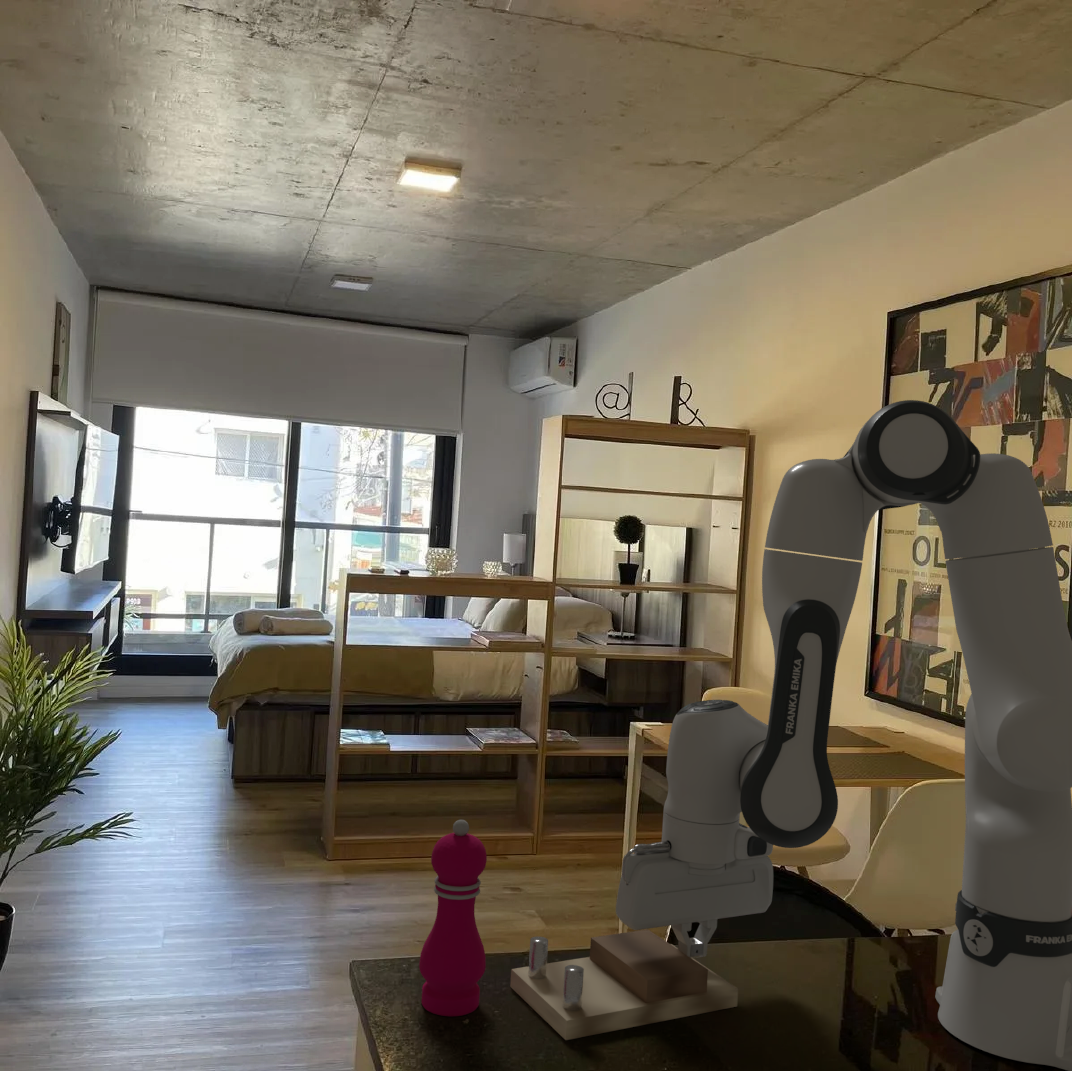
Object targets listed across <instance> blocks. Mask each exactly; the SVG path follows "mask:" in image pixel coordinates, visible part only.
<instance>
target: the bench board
mask: <svg viewBox="0 0 1072 1071" xmlns="http://www.w3.org/2000/svg"><path fill="white" fill-rule="evenodd" d="M670 944H671V945H672V946H674V947H675V948H677V949H678V946H677V947H676V945H674V944H672V943H670ZM548 947H549V939H548V938H547V937H544V936H533V937H531V938H530V941H529V955H528V957H529V958H528V966H523V967H517V968H511V970H510V986H509V987H510V988H511V990H513V991H514V992H515V993H516V994H517V995H518V996H520V998H521V999H522V1000H524V1002H525V1003H526V1004H528V1005H529V1007H530V1008H532V1009H533V1010H534V1011H535V1012H536V1013H537V1014H538V1015H539V1016H540V1017H541V1018H542V1019H543V1020H544V1021H545V1022H546V1023H548V1025H549V1026H550V1027H552V1029H553V1030H554V1031H555V1032H556V1033H558V1034H559V1035H560V1037H562V1038H563V1039H564V1040H565V1041H569V1040H574V1039H579V1038H584V1037H588V1036H589V1037H591V1036H593V1035H594V1036H595V1035H599V1034H603V1033H604V1034H605V1033H610V1032H614V1031H619V1030H624V1029H630V1028H633V1027H634V1028H635V1027H640V1026H644V1025H650V1024H654V1023H660V1022H665V1021H670V1020H674V1019H675V1020H676V1019H680V1018H685V1017H689V1016H696V1015H700V1014H705V1013H706V1014H707V1013H711V1012H717V1011H721V1010H725V1009H730V1008H734V1007H738V999H739V998H738V997H739V988H738V987H737V986H735V985H733V984H732V983H731V982H729V981H727V980H726V979H724V978H723V977H722V976H720V975H719V974H718V973H715V972H714V971H712V970H711V969H709V968H708V967H707V966H705V964H703V963H700V962H699V961H698V960H696V958H691V959H693V960H694V961H696V962H697V963H699V964H700V965H702V966H703V967H705V968H706V969H708V978H707V992H704V993H699V994H694V995H688V996H683V997H678V998H672V999H667V1000H661V1001H656V1002H651V1003H645V1002H644V1001H642V1000H641V999H640V998H639V997H637V996H636V995H635V994H634V993H632V992H631V991H630V990H629V989H627V988H626V987H625V986H623V985H622V984H621V983H620V982H618V981H617V980H616V979H615V978H613V977H612V976H611V975H609V974H608V973H607V972H606V971H604V970H603V969H602V968H601V967H599V966H598V965H597V964H596V963H594V962H593V961H592V960H590V956H587V957H580V958H573V959H567V960H562V961H561V960H560V961H554V962H550V963H549V962H548V952H549V951H548V949H549V948H548Z"/></svg>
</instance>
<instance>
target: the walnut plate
mask: <svg viewBox="0 0 1072 1071" xmlns="http://www.w3.org/2000/svg"><path fill="white" fill-rule="evenodd" d="M671 944H672V943H669V942H668V941H666V940H664V939H663V938H661V936H659V935H657V934H656V933H654V932H652V931H651V930H649V929H642V930H633V931H627V932H621V933H620V932H619V933H613V934H607V935H599V936H593V937H590V944H589V945H590V947H589V957H590V960H592V961H593V962H594V963H596V964H597V965H598V966H599V967H601V968H602V969H603V970H604V971H606V972H607V973H608V974H609V975H611V976H612V977H613V978H615V979H616V980H617V981H618V982H620V983H621V984H622V985H623V986H625V987H626V988H627V989H629V990H630V991H631V992H632V993H634V994H635V995H636V996H637V997H639V998H640V999H641V1000H642V1001H644V1002H645V1003H651V1002H656V1001H661V1000H667V999H672V998H678V997H683V996H688V995H694V994H699V993H704V992H707V978H708V969H709V968H708V969H706V968H705V967H706V966H705V967H703V966H702V965H703V964H702V965H700V964H699V963H700V962H699V963H697V962H696V961H697V960H696V961H694V960H693V959H694V958H693V959H691V958H690V957H688V956H687V955H685V954H684V953H683V952H681V951H680V950H678V949H677V948H678V947H677V948H675V947H676V946H675V945H674V946H675V947H674V946H672V945H673V944H672V945H671Z"/></svg>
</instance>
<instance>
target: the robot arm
mask: <svg viewBox="0 0 1072 1071" xmlns="http://www.w3.org/2000/svg"><path fill="white" fill-rule="evenodd" d="M852 443H853V444H852V445H851V446H850V448H848V450H847V451H846V453H845V454H844V455H843V457H839V458H835V459H827V458H813V459H808V460H803V461H800V462H798V463H795V464H794V465H793V466H791V467H790V468H788V470H787V471H786V472H785V473H784V476H783V477H782V480H781V483H780V485H779V488H778V491H777V493H776V497H775V500H774V504H773V507H772V510H771V514H770V517H769V518H770V519H769V521H768V522H769V523H768V526H767V528H768V529H767V533H766V538H765V542H764V549H763V550H764V551H763V557H762V569H761V575H762V576H761V588H762V589H761V590H762V591H761V594H762V595H761V596H762V604H763V605H762V606H763V611H764V612H763V613H764V614H765V617H766V621H767V624H768V628H769V632H770V635H771V640H772V644H773V653H774V671H773V672H774V675H773V683H772V690H771V691H772V692H771V699H770V705H769V714H768V721H767V722H768V723H767V724H766V723H765V722H762V721H761V720H759V719H758V718H757V717H755V716H753V715H752V714H751V713H749V712H747V710H745V709H744V708H743V707H742V706H741V705H740V704H739V703H738V702H735V701H733V700H727V699H708V700H701V701H695V702H691V703H688V704H687V705H684V707H682V708H681V709H680V710H679V711H677V713H676V714H675V716H674V718H673V720H672V724H671V728H670V733H669V739H668V747H667V754H666V755H667V756H666V766H665V767H666V768H665V774H666V781H667V787H668V789H667V796H666V800H665V801H664V805H663V816H662V828H661V829H662V831H661V841H658V842H657V841H656V842H652V843H647V844H646V843H638V844H636V845H634V846H633V848H632V849H630V850H628V851H627V852H626V854H625V855H624V856H623V859H622V862H621V863H622V864H621V876H620V881H619V884H618V891H617V896H616V904H615V913H616V916H617V918H618V919H619V921H620V922H621V923H622V924H624V925H626V927H628V928H630V929H631V930H633V931H640V930H647V929H648V930H649V929H655V928H656V929H657V928H662V927H671V928H672V931H673V933H674V935H675V936H676V939H677V940H678V942H677V944H678V945H677V948H678V950H680V951H681V952H683V953H684V954H685V955H687V956H688V957H690V958H693V959H696V958H697V959H698V958H702V957H706V956H707V954H708V943H709V942H710V941H711V938H712V936H713V935H714V933H715V931H716V930H717V928H718V919H726V918H733V917H739V916H740V917H741V916H746V915H754V914H762V913H766V911H767V910H768V909H769V907H770V906H771V904H772V901H773V890H774V866H773V862H772V860H771V858H770V857H769V856H770V855H771V854H772V852H773V849H774V847H775V846H776V847H779V848H785V849H797V848H803V847H807V846H809V845H812V844H814V843H816V842H817V841H819V840H821V838H822V837H824V836H825V835H826V834H827V832H829V830H830V829H831V828H832V826H833V824H834V823H835V820H836V817H837V813H838V808H839V799H838V791H837V787H836V783H835V781H834V778H833V775H832V772H831V768H830V764H829V760H828V759H829V758H828V751H827V750H828V738H829V728H830V722H831V721H830V720H831V718H830V717H831V712H832V702H833V694H834V685H835V677H836V670H837V669H836V668H837V663H838V659H839V655H840V652H841V651H840V650H841V648H842V644H843V640H844V637H845V633H846V631H847V626H848V623H849V621H850V620H849V619H850V617H851V613H852V612H853V608H854V604H855V601H856V597H857V592H858V588H859V583H860V578H861V574H862V567H863V558H864V551H865V544H866V537H867V533H868V529H869V527H870V523H871V521H872V519H873V517H874V516H875V515H876V514H877V512H878V511H883V510H888V509H897V508H898V509H899V508H903V507H904V508H905V507H907V506H913V505H917V504H921V505H922V506H924V507H925V508H927V509H928V510H929V511H930V512H931V513H932V515H933V516H934V518H935V520H936V522H937V526H938V527H939V531H940V532H941V537H942V548H943V553H944V560H945V561H944V562H945V566H946V571H947V572H946V573H947V579H948V585H949V591H950V597H951V598H950V599H951V604H952V612H953V618H954V622H955V623H954V624H955V628H956V633H957V636H958V641H959V644H960V648H961V652H962V656H963V660H964V665H965V670H966V674H967V678H968V682H969V688H970V691H971V694H970V696H969V697H968V700H967V703H966V707H965V715H964V716H965V717H964V718H965V719H964V722H965V723H964V797H965V798H964V801H965V830H964V831H965V833H964V845H963V846H964V847H963V849H964V850H963V851H964V853H963V863H962V864H963V865H962V881H961V882H962V883H961V889H960V890H959V891H958V892H957V897H956V903H955V908H954V911H955V920H954V923H955V926H956V928H957V929H955V930H954V931H953V932H951V936H950V939H949V945H948V950H947V955H946V956H947V958H946V964H945V969H944V975H943V981H942V986H938V987H936V991H935V997H934V998H935V999H936V1002H937V1003H938V1004H939V1008H938V1012H937V1019H938V1020H939V1022H940V1024H941V1025H942V1027H943V1028H944V1029H945V1030H947V1031H948V1032H949V1033H950V1034H951V1035H953V1036H954V1037H955V1038H958V1040H960V1041H962V1042H964V1043H966V1044H968V1045H969V1046H972V1047H974V1048H976V1049H979V1050H982V1051H983V1052H986V1053H989V1054H992V1055H995V1056H998V1057H1001V1058H1005V1059H1009V1060H1013V1061H1017V1062H1023V1063H1028V1064H1036V1065H1045V1066H1050V1067H1055V1068H1057V1069H1062V1070H1065V1071H1072V790H1071V788H1072V638H1071V634H1070V632H1069V628H1068V624H1067V620H1066V613H1065V609H1064V604H1063V599H1062V593H1061V592H1062V591H1061V586H1060V578H1059V575H1058V567H1057V562H1056V557H1055V549H1054V544H1053V540H1052V533H1051V529H1050V525H1049V521H1048V520H1049V519H1048V516H1047V513H1046V509H1045V506H1044V503H1043V499H1042V496H1041V493H1040V491H1039V488H1038V486H1037V483H1036V480H1035V479H1034V475H1033V472H1032V471H1031V469H1030V468H1029V466H1028V465H1027V464H1026V463H1025V462H1024V461H1023V460H1021V459H1020V458H1018V457H1015V456H1011V455H1009V454H1008V455H1007V454H1005V453H1004V454H1003V453H996V452H995V453H992V452H991V453H981V452H980V450H979V448H978V447H977V446H976V445H975V443H974V442H973V441H972V440H971V439H970V438H969V437H968V436H967V435H966V434H965V432H964V431H963V429H962V428H961V427H960V426H959V425H958V423H957V422H956V421H955V420H954V419H953V418H952V417H951V416H950V415H949V414H948V413H947V412H946V411H945V410H943V408H940V407H938V405H935V404H933V403H930V402H926V401H924V400H916V399H915V400H914V399H913V400H912V399H911V400H910V399H907V400H899V401H896V402H893V403H889V404H888V405H885V406H884V407H881V408H880V409H878V410H877V411H876V412H875V413H874V414H873V415H872V416H871V417H870V418H869V419H868V420H867V421H866V422H865V423H864V425H862V427H861V428H860V430H859V431H858V433H857V435H856V437H855V440H854V442H852ZM741 813H742V817H743V818H744V820H745V823H746V825H747V826H746V825H744V824H742V823H740V817H741ZM693 923H699V925H698V927H697V929H696V931H695V934H694V936H693V937H690V936H689V933H688V932H690V931H691V930H692V924H693Z"/></svg>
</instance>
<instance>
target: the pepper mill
mask: <svg viewBox="0 0 1072 1071" xmlns="http://www.w3.org/2000/svg"><path fill="white" fill-rule="evenodd" d="M469 831H470V825H469V823H468V822H467V820H465V819H458V820H456V821H455V822H454V823H453V824H452V832H450V833H447V834H445V835H444V836H442V837H440V838H439V839H438V840H437V842H436V843H435V844H434V847H433V848H432V852H431V856H430V857H431V860H430V862H431V865H432V869H433V870H434V872H435V873H436V875H437V876H436V877H435V878H434V884H435V885H434V888H433V891H434V893H435V894H436V895H437V909H436V910H437V911H436V917H435V921H434V923H433V925H432V928H431V930H430V932H429V934H428V936H427V938H426V939H425V942H424V943H423V946H422V948H421V951H420V957H419V964H418V967H419V972H420V974H421V976H422V977H423V979H424V980H425V982H424V983H423V984H422V988H421V1005H422V1007H423V1008H424V1009H425V1010H426V1011H428V1012H429V1013H431V1014H434V1015H438V1016H442V1017H460V1016H461V1017H462V1016H465V1015H466V1016H467V1015H468V1014H471V1013H473V1012H475V1011H476V1010H477V1008H478V1007H479V1005H480V992H481V991H480V990H481V988H480V986H479V985H478V982H479V981H480V979H482V977H483V975H484V974H485V971H486V968H487V966H486V964H487V962H486V961H487V960H486V953H485V952H486V951H485V947H484V945H483V941H482V937H481V936H480V932H479V929H478V926H477V924H476V917H475V904H476V899H477V896H479V895H480V894H481V888H480V885H481V884H482V881H481V879H480V878H479V877H480V875H481V874H482V873H484V872H483V871H485V868H486V867H487V866H486V865H487V861H488V860H487V859H488V858H487V857H488V856H487V850H486V848H485V844H483V842H482V841H481V839H480V838H478V837H476V836H475V835H473V834H471V833H469Z"/></svg>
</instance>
